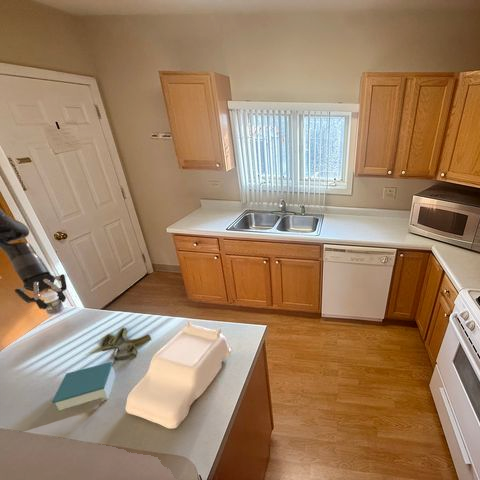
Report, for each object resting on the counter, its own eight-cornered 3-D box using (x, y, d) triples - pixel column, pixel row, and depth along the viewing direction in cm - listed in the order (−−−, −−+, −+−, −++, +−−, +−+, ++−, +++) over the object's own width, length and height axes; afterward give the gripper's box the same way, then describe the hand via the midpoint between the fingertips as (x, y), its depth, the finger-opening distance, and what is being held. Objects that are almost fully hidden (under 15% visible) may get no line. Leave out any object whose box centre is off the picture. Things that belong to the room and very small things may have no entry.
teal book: (59, 415, 75) (51, 401, 73) (72, 386, 83) (66, 373, 81) (109, 399, 80) (103, 387, 77) (117, 373, 88) (112, 361, 86)
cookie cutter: (155, 339, 102) (154, 336, 102) (128, 363, 92) (126, 359, 91) (121, 329, 107) (119, 326, 106) (90, 351, 96) (89, 347, 95)
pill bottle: (44, 314, 97) (35, 296, 94) (58, 306, 101) (50, 289, 98) (53, 316, 96) (45, 298, 93) (67, 308, 100) (60, 291, 97)
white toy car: (234, 352, 98) (231, 325, 93) (175, 434, 72) (166, 403, 66) (193, 341, 103) (187, 314, 97) (122, 414, 76) (109, 383, 71)
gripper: (1, 271, 89) (27, 312, 88) (56, 256, 100) (79, 292, 100) (3, 280, 93) (28, 318, 93) (55, 264, 105) (77, 298, 104)
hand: (54, 304), depth 96 cm, fingers closed on pill bottle, 4 cm apart
